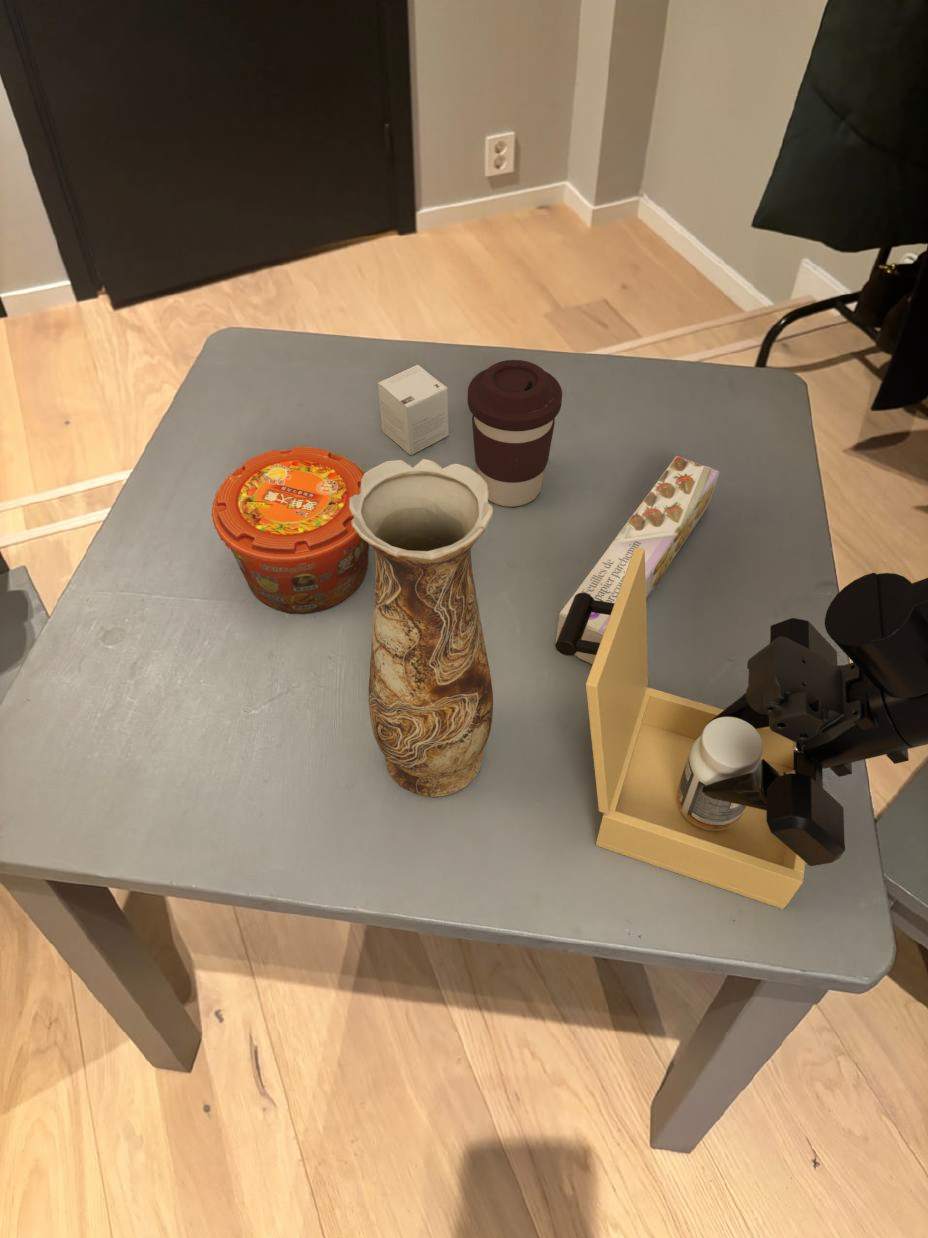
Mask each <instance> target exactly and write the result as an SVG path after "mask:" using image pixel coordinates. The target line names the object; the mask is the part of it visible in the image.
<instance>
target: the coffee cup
mask: <svg viewBox="0 0 928 1238" xmlns="http://www.w3.org/2000/svg"><path fill="white" fill-rule="evenodd" d="M562 403H563V389H562V386H561V385H560V383H559V381H558V380H557V378H556V377H554V376H553V375H552V374H551V373H549V372H547V371H546V370H544V368H542V367H540V366H539V364H536V363H533V362H531V361H527V360H524V359H523V360H522V359H508V360H507V359H506V360H501V361H499V362H496V363H494V364H492V365H490V366H489V367H488V368H486V369H483V370H481V371H480V372H478V373H477V374H476V375H475V376H474V377H472V379H471V381H470V382H469V385H468V387H467V406H468V410H469V412H470V413H471V415H472V418H471V423H472V436H473V437H472V439H473V453H474V460H475V461H474V462H475V464H476V466H477V473H478V474H480V475H481V476H482V478H483V479H484V480H485V481H486V483H487V484H488V487H489V492H490V494H489V498H488V502H490V503H493V504H495V505H498V506H502V507H506V508H507V507H509V508H510V507H512V508H515V507H521V506H524V505H527V504H529V503H531V502H532V501H534V500H535V499H536V498H537V497H538V496H539V494H540V492H541V490H542V485H543V480H544V473H545V470H546V468H547V466H548V463H549V459H550V458H549V457H550V453H551V447H552V442H553V441H552V440H553V436H554V430H555V424H556V422H555V419H556V417H557V416H558V415H559V413H560V411H561V408H562Z"/></svg>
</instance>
